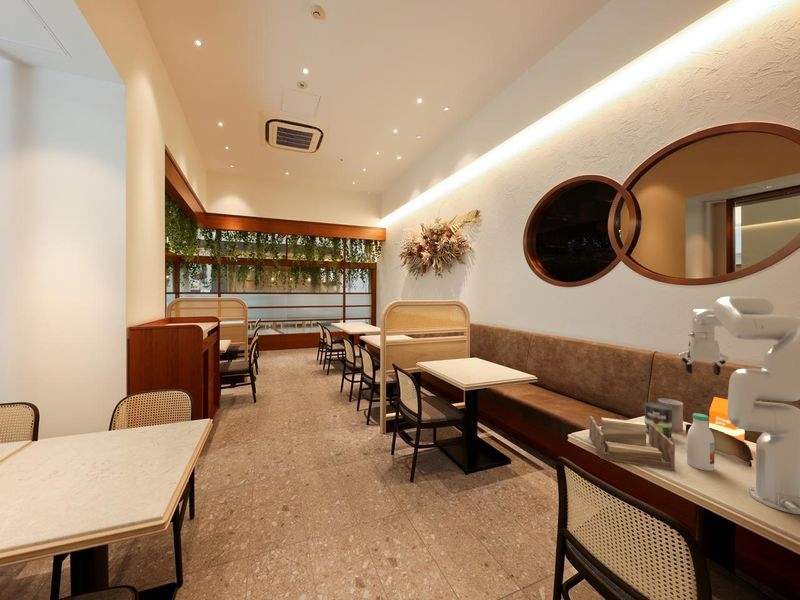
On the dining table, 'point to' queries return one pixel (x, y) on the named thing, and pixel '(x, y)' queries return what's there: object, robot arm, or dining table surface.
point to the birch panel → (624, 431)
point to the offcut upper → (633, 449)
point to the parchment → (730, 446)
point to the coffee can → (659, 418)
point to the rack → (655, 441)
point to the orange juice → (723, 419)
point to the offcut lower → (634, 455)
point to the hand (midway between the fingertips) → (702, 373)
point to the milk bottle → (700, 444)
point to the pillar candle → (674, 413)
